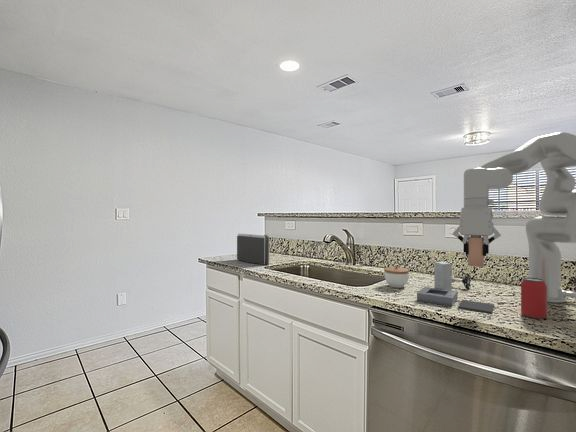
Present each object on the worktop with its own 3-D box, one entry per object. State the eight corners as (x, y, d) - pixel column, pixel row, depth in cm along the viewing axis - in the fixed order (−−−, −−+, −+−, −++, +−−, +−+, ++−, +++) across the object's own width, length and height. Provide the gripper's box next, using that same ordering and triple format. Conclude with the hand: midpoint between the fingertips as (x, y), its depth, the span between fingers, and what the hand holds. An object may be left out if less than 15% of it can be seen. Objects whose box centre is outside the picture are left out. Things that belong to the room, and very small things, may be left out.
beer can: (525, 318, 98) (525, 280, 98) (518, 311, 104) (518, 276, 104) (550, 320, 96) (550, 282, 96) (542, 313, 102) (542, 277, 102)
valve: (437, 286, 141) (467, 290, 132) (437, 271, 141) (467, 275, 132) (442, 283, 145) (471, 287, 137) (442, 269, 145) (471, 272, 137)
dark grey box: (233, 260, 221) (233, 233, 221) (257, 257, 237) (257, 231, 237) (265, 266, 197) (265, 235, 196) (289, 262, 212) (289, 233, 212)
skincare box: (452, 292, 130) (452, 263, 130) (443, 292, 129) (442, 264, 129) (442, 288, 136) (442, 261, 136) (433, 289, 135) (433, 261, 135)
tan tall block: (484, 265, 110) (484, 234, 110) (483, 267, 106) (483, 235, 106) (468, 263, 113) (468, 234, 113) (467, 265, 109) (467, 235, 109)
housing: (457, 298, 120) (457, 290, 120) (452, 306, 111) (452, 298, 111) (424, 293, 127) (424, 286, 127) (416, 300, 118) (416, 293, 118)
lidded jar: (391, 282, 149) (390, 262, 149) (413, 286, 141) (413, 265, 141) (379, 286, 141) (379, 265, 141) (402, 290, 134) (402, 268, 133)
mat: (494, 306, 111) (494, 304, 111) (491, 313, 103) (491, 311, 103) (462, 301, 117) (462, 299, 117) (457, 308, 109) (457, 306, 109)
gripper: (505, 203, 107) (505, 255, 107) (451, 204, 117) (451, 252, 117) (504, 202, 101) (504, 258, 101) (447, 204, 111) (447, 254, 111)
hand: (475, 254), depth 109 cm, fingers closed on tan tall block, 4 cm apart
